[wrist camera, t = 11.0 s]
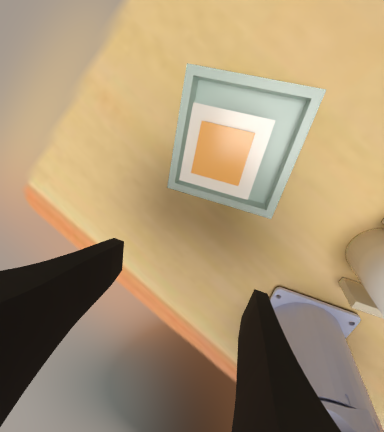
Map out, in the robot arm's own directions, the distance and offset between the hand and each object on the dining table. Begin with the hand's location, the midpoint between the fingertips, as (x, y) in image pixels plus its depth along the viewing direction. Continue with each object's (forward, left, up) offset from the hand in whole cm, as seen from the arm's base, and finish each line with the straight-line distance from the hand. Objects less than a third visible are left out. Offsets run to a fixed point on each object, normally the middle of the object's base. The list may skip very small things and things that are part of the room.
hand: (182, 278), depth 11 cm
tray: (+6, 0, -10) cm, 12 cm away
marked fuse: (+6, 0, -10) cm, 12 cm away
